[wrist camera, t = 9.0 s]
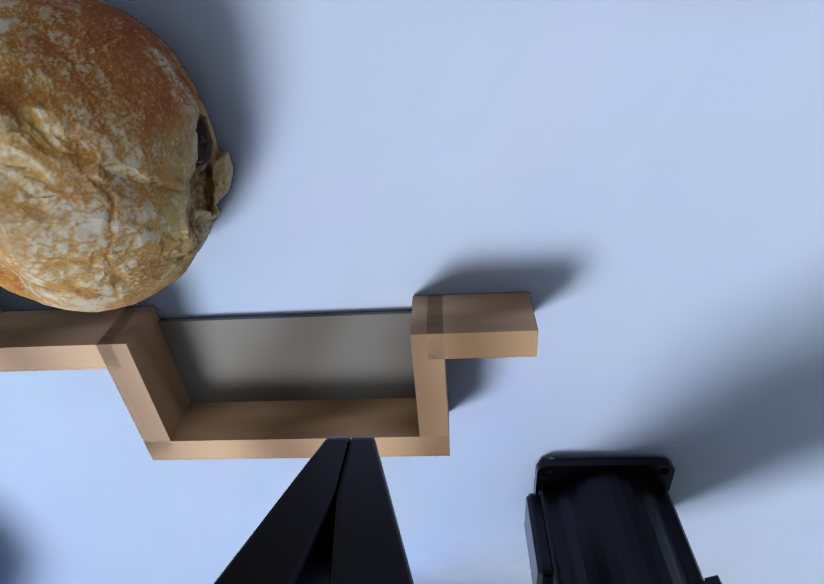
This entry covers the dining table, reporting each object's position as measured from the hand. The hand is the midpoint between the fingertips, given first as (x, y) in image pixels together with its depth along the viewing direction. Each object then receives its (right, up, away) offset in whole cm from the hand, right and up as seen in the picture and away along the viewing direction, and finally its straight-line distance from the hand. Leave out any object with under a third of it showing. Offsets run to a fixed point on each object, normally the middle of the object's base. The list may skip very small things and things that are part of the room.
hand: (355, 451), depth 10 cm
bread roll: (-10, +8, +10) cm, 16 cm away
